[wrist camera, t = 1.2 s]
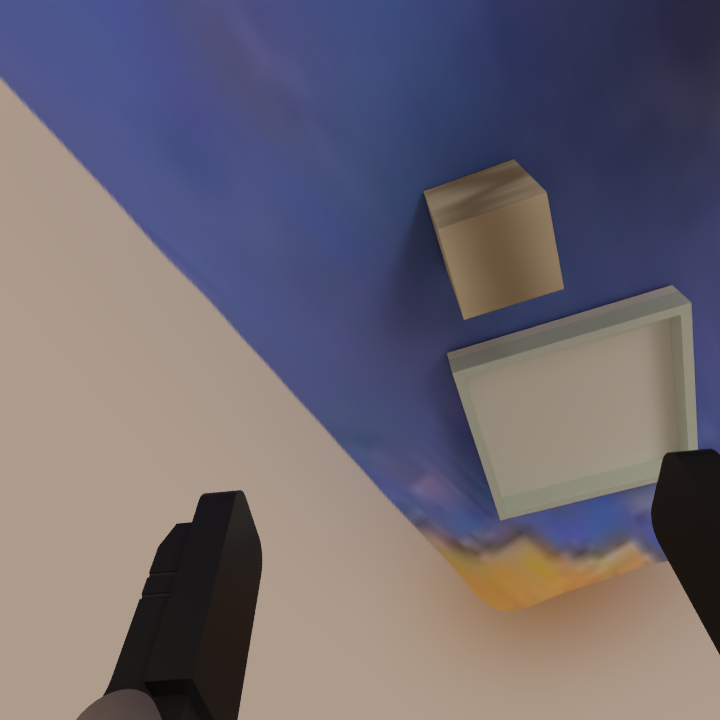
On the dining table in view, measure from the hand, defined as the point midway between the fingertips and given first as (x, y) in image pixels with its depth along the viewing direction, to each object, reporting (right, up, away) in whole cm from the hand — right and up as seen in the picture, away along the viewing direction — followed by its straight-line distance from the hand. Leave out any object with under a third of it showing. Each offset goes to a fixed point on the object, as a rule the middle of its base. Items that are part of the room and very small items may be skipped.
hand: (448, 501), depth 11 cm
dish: (+13, 0, +28) cm, 31 cm away
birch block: (+5, +11, +21) cm, 24 cm away
